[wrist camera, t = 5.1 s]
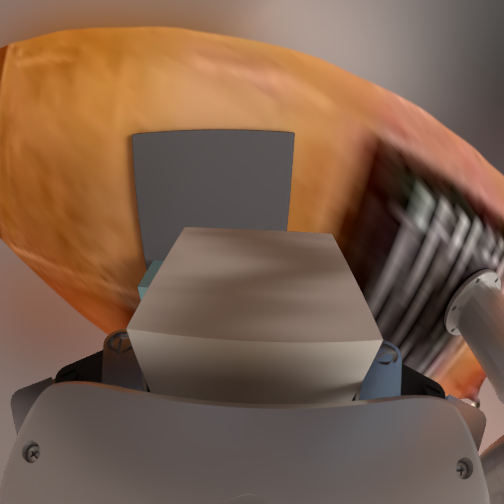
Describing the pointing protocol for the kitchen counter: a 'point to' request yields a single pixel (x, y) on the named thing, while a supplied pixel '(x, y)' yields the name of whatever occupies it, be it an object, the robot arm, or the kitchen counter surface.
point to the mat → (210, 183)
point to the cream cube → (254, 320)
